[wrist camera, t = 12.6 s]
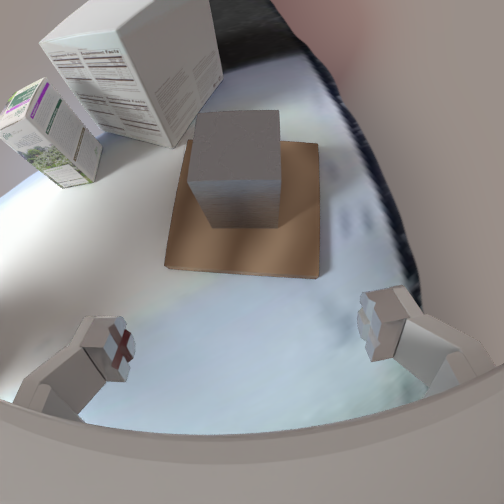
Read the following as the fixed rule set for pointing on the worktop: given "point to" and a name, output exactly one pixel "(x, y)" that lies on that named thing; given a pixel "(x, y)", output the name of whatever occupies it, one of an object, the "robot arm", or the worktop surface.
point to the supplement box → (139, 64)
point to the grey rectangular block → (237, 168)
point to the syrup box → (50, 135)
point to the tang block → (254, 239)
